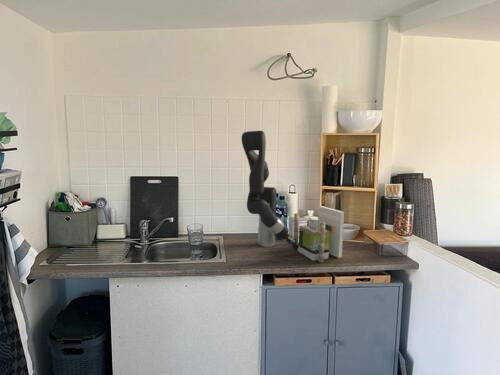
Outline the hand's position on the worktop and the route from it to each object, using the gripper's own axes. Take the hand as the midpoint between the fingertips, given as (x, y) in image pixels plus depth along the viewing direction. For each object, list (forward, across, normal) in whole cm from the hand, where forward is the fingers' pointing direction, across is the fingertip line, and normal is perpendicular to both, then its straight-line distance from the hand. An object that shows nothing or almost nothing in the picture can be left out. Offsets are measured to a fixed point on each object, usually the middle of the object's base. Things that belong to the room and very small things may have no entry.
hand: (296, 248), depth 192 cm
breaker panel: (+18, -2, -11) cm, 21 cm away
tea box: (+11, -1, -3) cm, 11 cm away
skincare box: (+20, +13, -13) cm, 27 cm away
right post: (+8, -11, -2) cm, 14 cm away
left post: (+9, +11, -2) cm, 14 cm away
